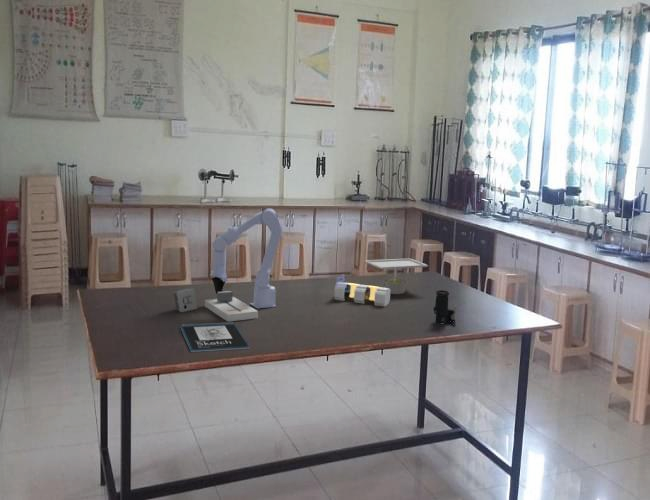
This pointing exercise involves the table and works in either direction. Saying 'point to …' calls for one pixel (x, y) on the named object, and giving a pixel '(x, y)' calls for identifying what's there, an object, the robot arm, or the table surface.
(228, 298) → the fader tab
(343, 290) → the gray yellow segmented block
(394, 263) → the solar panel model
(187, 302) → the electrical switch
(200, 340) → the sketchbook
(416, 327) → the table surface
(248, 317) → the white flat rectangular block
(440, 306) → the scope
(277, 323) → the table surface
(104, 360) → the table surface
